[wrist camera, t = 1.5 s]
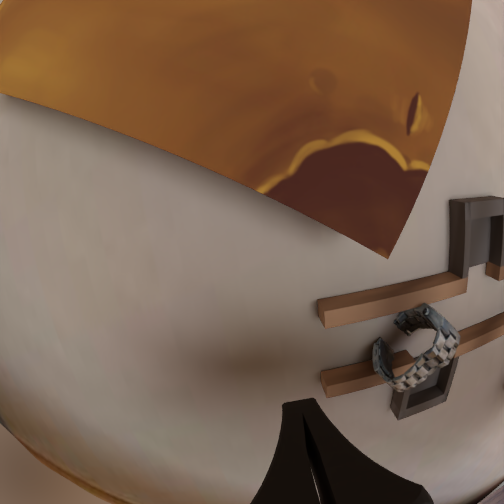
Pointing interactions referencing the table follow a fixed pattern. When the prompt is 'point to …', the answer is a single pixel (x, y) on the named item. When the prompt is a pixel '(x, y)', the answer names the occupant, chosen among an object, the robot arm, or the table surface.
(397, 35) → the diary
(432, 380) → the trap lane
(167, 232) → the table surface
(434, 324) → the wristwatch
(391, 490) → the robot arm
